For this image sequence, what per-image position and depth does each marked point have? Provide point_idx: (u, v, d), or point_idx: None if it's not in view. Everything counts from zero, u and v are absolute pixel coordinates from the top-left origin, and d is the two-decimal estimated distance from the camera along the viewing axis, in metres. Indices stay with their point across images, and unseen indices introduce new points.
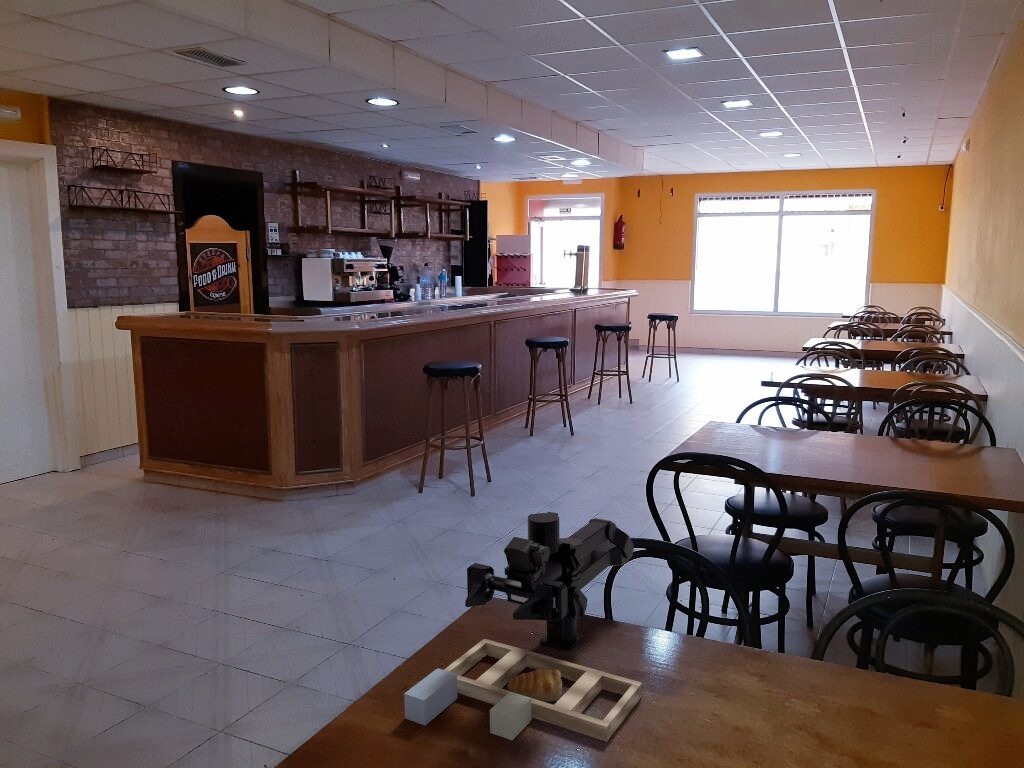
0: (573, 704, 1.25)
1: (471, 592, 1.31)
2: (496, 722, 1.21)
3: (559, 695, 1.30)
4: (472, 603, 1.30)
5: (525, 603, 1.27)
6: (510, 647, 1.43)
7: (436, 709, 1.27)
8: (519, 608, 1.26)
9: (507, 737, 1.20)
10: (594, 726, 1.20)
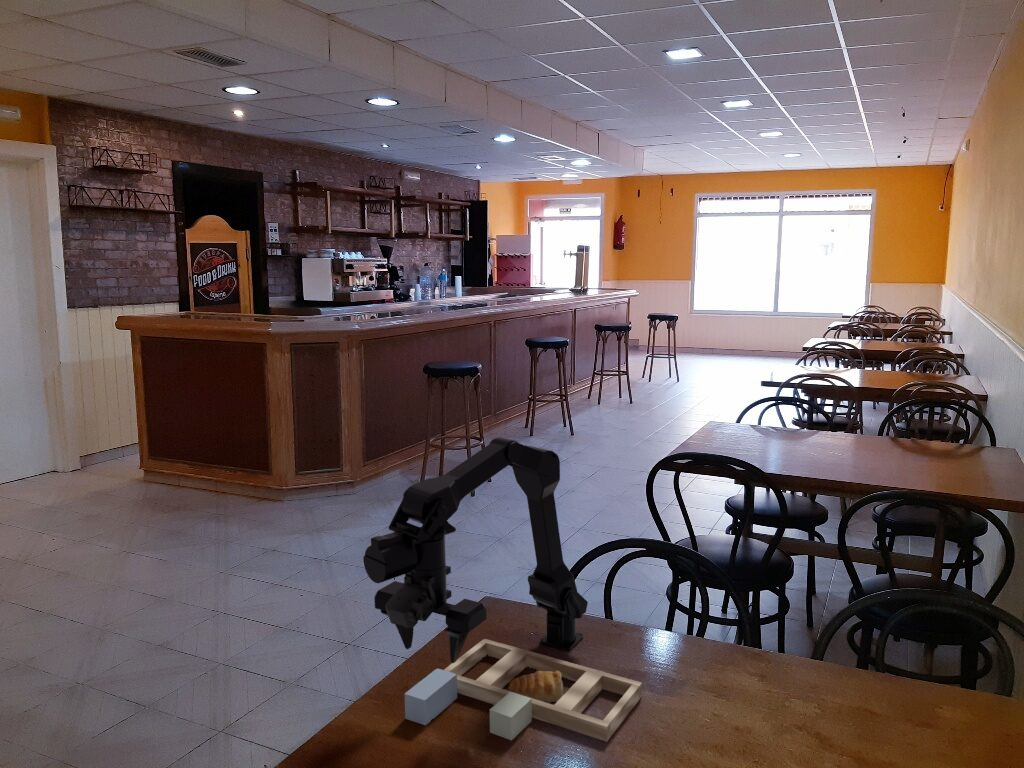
0: (573, 704, 1.25)
1: (401, 636, 1.29)
2: (495, 721, 1.21)
3: (560, 696, 1.30)
4: (410, 638, 1.30)
5: (451, 648, 1.23)
6: (510, 647, 1.43)
7: (437, 709, 1.27)
8: (451, 656, 1.24)
9: (506, 737, 1.20)
10: (594, 726, 1.20)
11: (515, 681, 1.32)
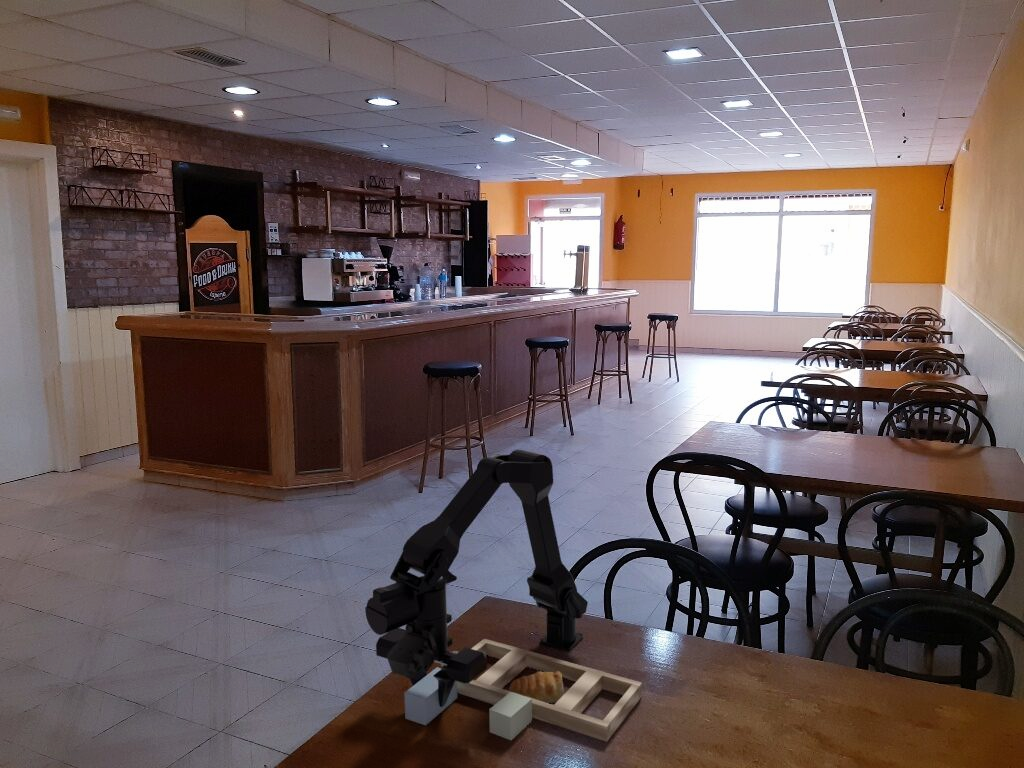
0: (573, 704, 1.25)
1: None
2: (495, 721, 1.21)
3: None
4: None
5: (440, 692, 1.26)
6: (510, 647, 1.43)
7: (437, 708, 1.26)
8: (440, 700, 1.26)
9: (506, 737, 1.20)
10: (594, 726, 1.20)
11: (516, 682, 1.32)
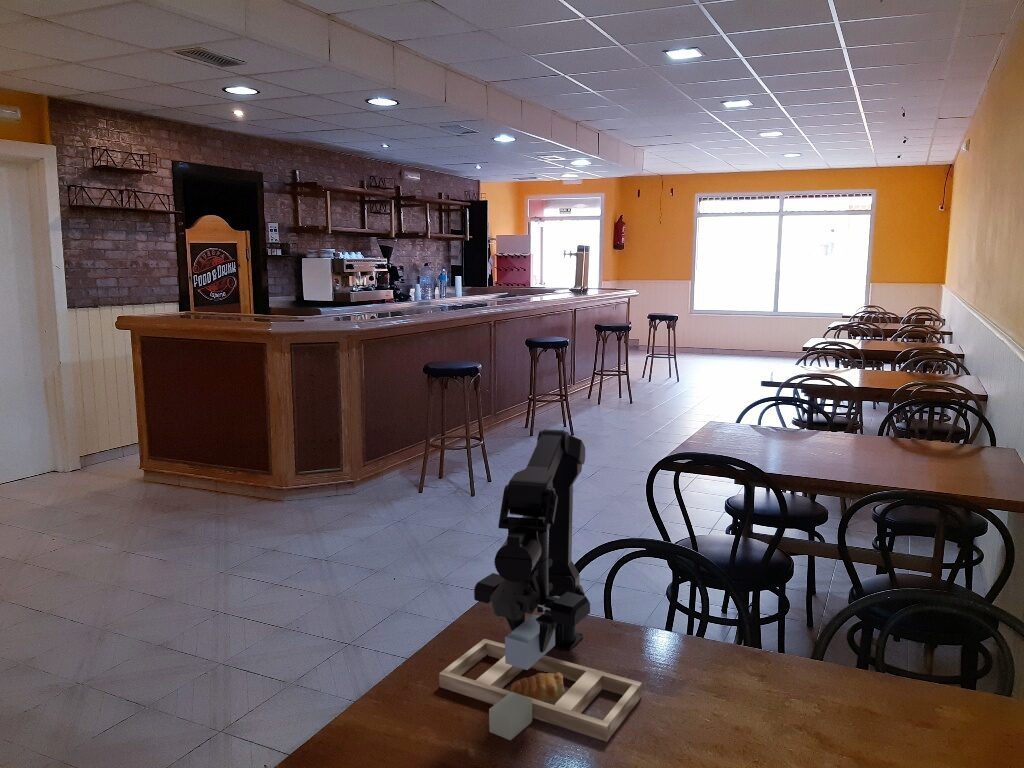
0: (573, 704, 1.25)
1: None
2: (495, 721, 1.21)
3: None
4: None
5: (541, 637, 1.23)
6: None
7: (537, 653, 1.24)
8: (541, 645, 1.24)
9: (505, 737, 1.20)
10: (594, 726, 1.20)
11: (516, 684, 1.32)
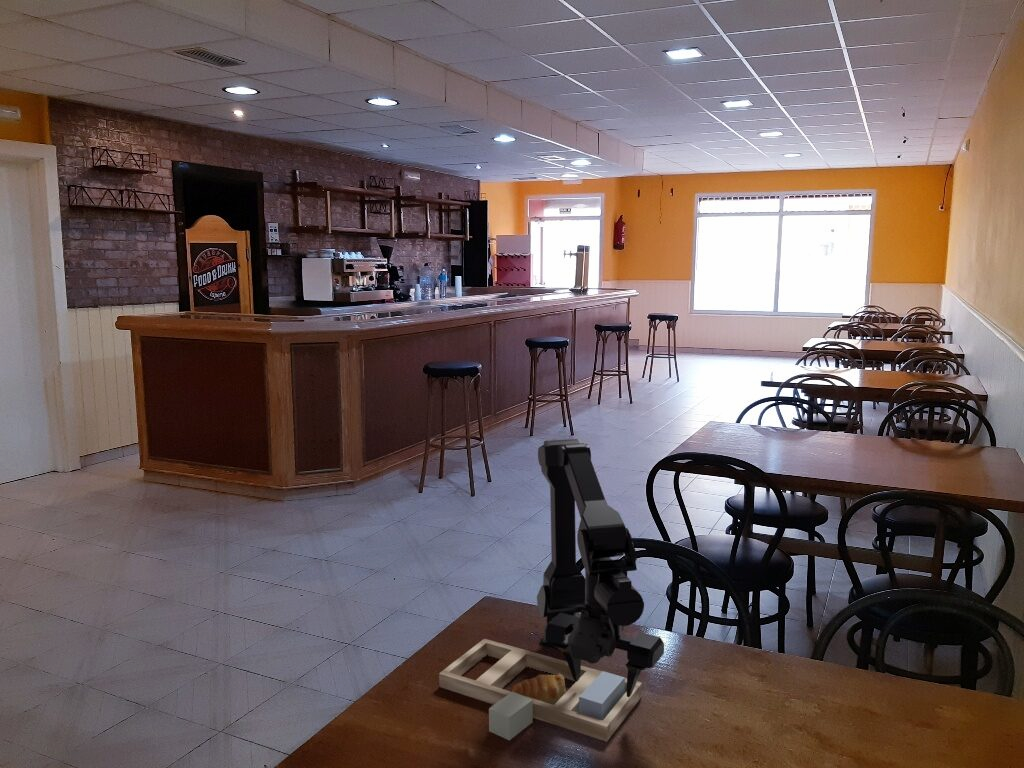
0: (573, 704, 1.25)
1: (571, 669, 1.28)
2: (494, 721, 1.21)
3: None
4: (579, 671, 1.29)
5: (629, 682, 1.23)
6: (510, 647, 1.43)
7: None
8: (628, 690, 1.23)
9: (504, 737, 1.20)
10: (594, 726, 1.20)
11: (518, 686, 1.31)
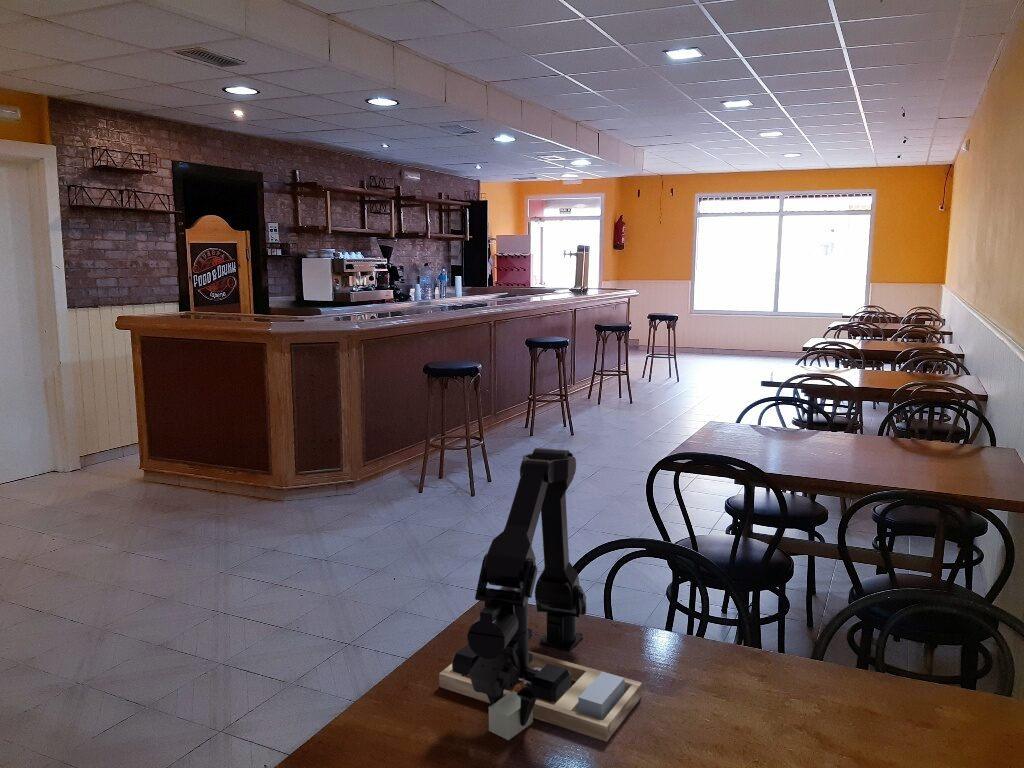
0: (573, 704, 1.25)
1: None
2: (494, 719, 1.21)
3: None
4: None
5: (522, 711, 1.20)
6: None
7: None
8: (522, 719, 1.21)
9: (504, 736, 1.20)
10: (594, 726, 1.20)
11: (517, 687, 1.30)
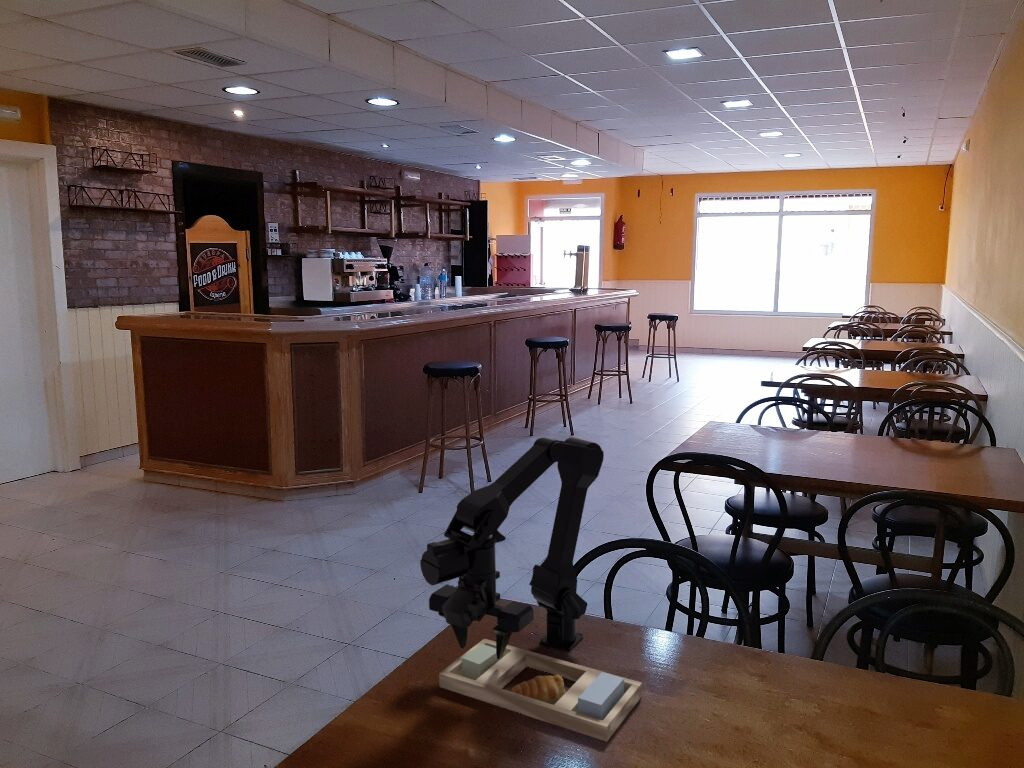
0: (573, 704, 1.25)
1: (457, 636, 1.40)
2: (466, 668, 1.37)
3: None
4: (465, 638, 1.41)
5: (498, 645, 1.35)
6: (510, 647, 1.43)
7: None
8: (497, 652, 1.36)
9: None
10: (594, 726, 1.20)
11: (517, 688, 1.30)
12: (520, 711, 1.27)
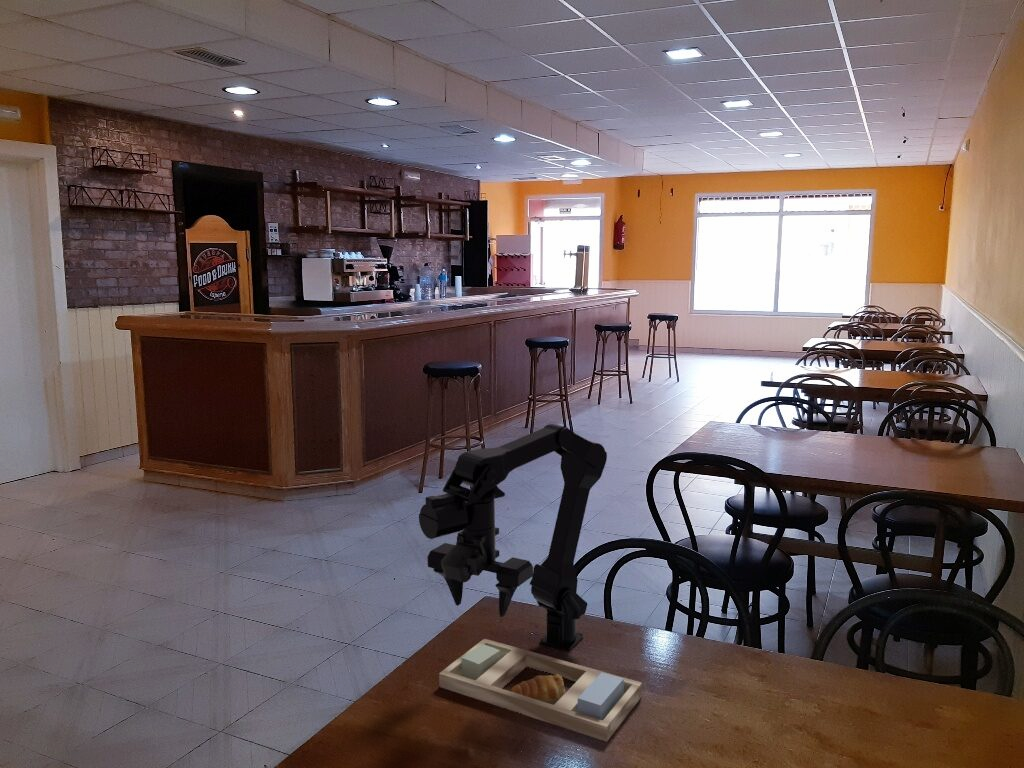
0: (573, 704, 1.25)
1: (452, 593, 1.39)
2: (466, 668, 1.37)
3: None
4: (460, 596, 1.40)
5: (501, 602, 1.33)
6: (510, 647, 1.43)
7: None
8: (500, 610, 1.34)
9: None
10: (594, 726, 1.20)
11: (516, 688, 1.30)
12: (520, 711, 1.27)
